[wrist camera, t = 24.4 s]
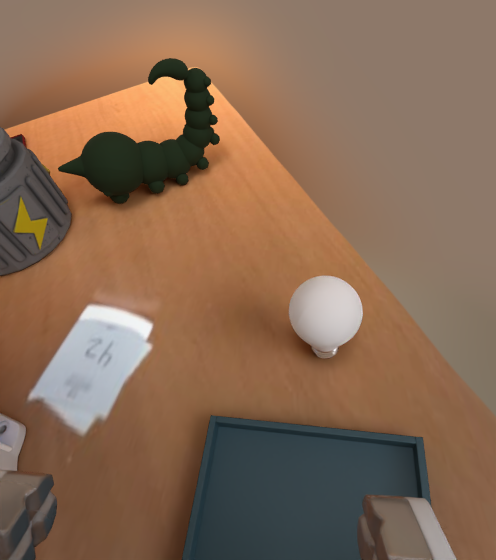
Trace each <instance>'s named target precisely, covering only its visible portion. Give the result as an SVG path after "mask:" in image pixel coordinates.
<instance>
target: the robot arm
mask: <svg viewBox="0 0 496 560" xmlns="http://www.w3.org/2000/svg"><path fill="white" fill-rule="evenodd" d="M6 428H7V429H6ZM5 429H6V431H5V432H4V430H5ZM3 432H4V433H3ZM25 434H26V427H25V426H24V425H23V424H22V423H20V422H18V421H16V420H14V419H12V418H10V417H8V416H6V415H4V414H2V413H0V560H35V558H36V556H35V547H36V546H37V545H39V544H40V543H41V542H42V541H44V540H45V539H46V538H47V536H48V534H49V532H50V530H51V528H52V525H53V522H54V519H55V516H56V510H57V500H56V496H55V495H54V494H53V493H52V492H51V491H50V490H51V488H52V487H53V485H54V482H53V477H52V475H51V474H44V473H34V472H23V471H17V462H18V455H19V453H20V450H21V447H22V444H23V442H24V438H25ZM362 507H363V511H364V514H362V515H361V516H360V517H359V519H358V525H357V541H358V548H359V552H360V557H361V560H457V559H456V557H455V555H454V553H453V551H452V549H451V547H450V545H449V543H448V541H447V539H446V537H445V535H444V533H443V531H442V529H441V527H440V525H439V523H438V521H437V518H436V516H435V514H434V512H433V510H432V508H431V506H430V504H429V502H428V501H427V500H426V499H425V498H413V497H403V496H386V495H367V494H366V495H365V496H364V498H363V502H362Z"/></svg>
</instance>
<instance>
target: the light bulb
mask: <svg viewBox="0 0 496 560" xmlns="http://www.w3.org/2000/svg"><path fill="white" fill-rule="evenodd" d="M362 315H363V313H362V304H361V301H360V298H359V296H358V294H357V293H356V291H355V290H354V289H353V288H352V287H351V286H350V285H349V284H348V283H346V282H345V281H343V280H341V279H339V278H336V277H332V276H318V277H314V278H311V279H309V280H307V281H305V282H304V283H303V284H301V285H300V286H299V287H298V288H297V289H296V291H295V292H294V294H293V296H292V298H291V301H290V304H289V318H290V322H291V325H292V327H293V329H294V331H295V332H296V333H297V335H298V336H299V337H300V338H301V339H302V340H303V341H305V342H307V343H308V344H310V345H311V348H312V350H313V352H314V353H315V354H316V355H317V356H318V357H319V358H323V359H326V358H331V357H333V356H335V354H336V353H337V352H338V350H339V346H340V345H343V344H344V343H346V342H348V341H349V340H350V339H351V338H352V337H353V336H354V335H355V334H356V332H357V331H358V329H359V327H360V324H361V321H362Z"/></svg>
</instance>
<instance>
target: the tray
mask: <svg viewBox="0 0 496 560" xmlns="http://www.w3.org/2000/svg"><path fill="white" fill-rule="evenodd" d="M366 494H367V495H386V496H403V497H413V498H425V499H426V500H427V501H428V502H429V504H430V506H431V500H430V492H429V484H428V475H427V467H426V459H425V451H424V443H423V438H422V437H413V436H403V435H394V434H384V433H375V432H365V431H355V430H346V429H336V428H327V427H317V426H308V425H298V424H288V423H279V422H269V421H260V420H250V419H241V418H231V417H221V416H212V415H211V417H210V422H209V427H208V432H207V437H206V442H205V447H204V452H203V457H202V462H201V467H200V472H199V477H198V482H197V487H196V491H195V496H194V501H193V506H192V511H191V516H190V521H189V526H188V531H187V536H186V541H185V546H184V551H183V556H182V560H361V557H360V552H359V548H358V541H357V525H358V519H359V517H360V516H361V515H362V514H364V511H363V507H362V502H363V498H364V496H365V495H366Z"/></svg>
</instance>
